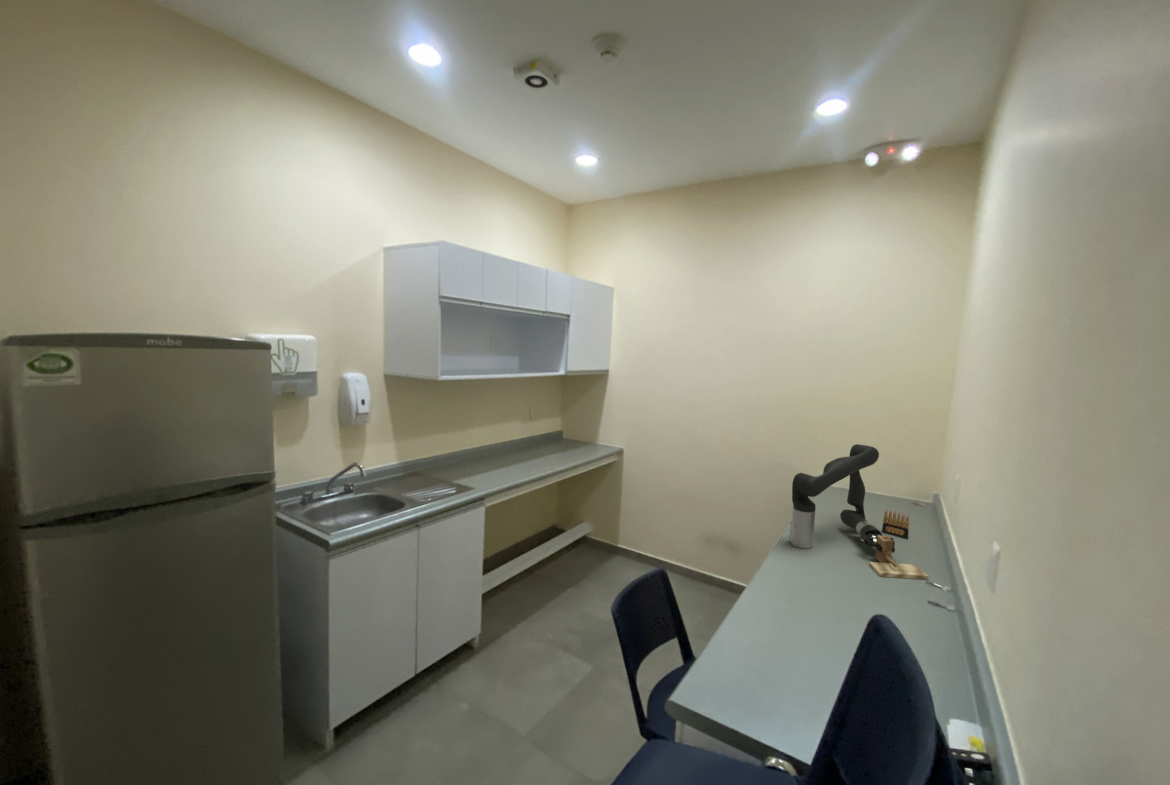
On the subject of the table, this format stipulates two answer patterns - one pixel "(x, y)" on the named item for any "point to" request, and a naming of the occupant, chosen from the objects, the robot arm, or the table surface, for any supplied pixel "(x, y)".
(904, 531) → the ammunition clip
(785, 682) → the table surface
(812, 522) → the robot arm
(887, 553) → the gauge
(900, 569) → the board
